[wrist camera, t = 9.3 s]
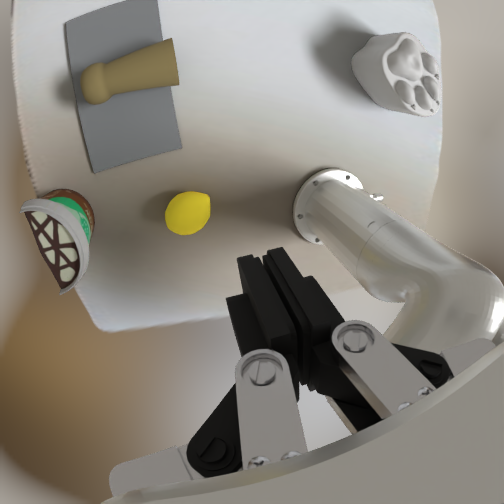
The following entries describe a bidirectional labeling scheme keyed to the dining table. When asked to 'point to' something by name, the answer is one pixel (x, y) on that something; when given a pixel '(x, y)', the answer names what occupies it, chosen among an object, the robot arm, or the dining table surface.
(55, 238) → the food container
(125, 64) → the cork
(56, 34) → the dining table surface
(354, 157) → the dining table surface
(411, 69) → the lumpy-topped squat cylinder
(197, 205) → the lemon
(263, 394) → the robot arm
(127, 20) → the mat
